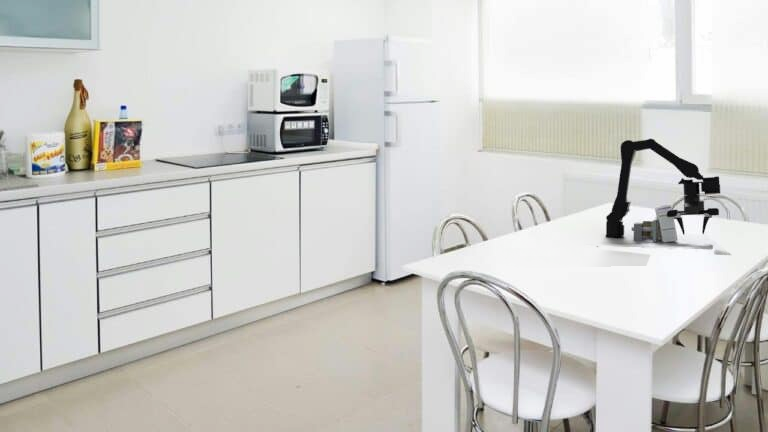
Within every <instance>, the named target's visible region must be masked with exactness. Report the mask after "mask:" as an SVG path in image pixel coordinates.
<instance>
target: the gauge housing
mask: <svg viewBox="0 0 768 432" xmlns="http://www.w3.org/2000/svg"><path fill="white" fill-rule="evenodd" d="M633 227H634V231H633V242H643V240H644V237H650V238H653V231H642V227H649V228H653V220H643V221H642V222H634V223H633ZM658 238H660V233H659V227H658V224H657V239H658ZM660 239H661V238H660Z"/></svg>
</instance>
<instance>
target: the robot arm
mask: <svg viewBox="0 0 768 432" xmlns="http://www.w3.org/2000/svg"><path fill="white" fill-rule="evenodd" d="M645 150H651V151H653V152H654V153H655V154H657V155H659V156H660V157H662V159H664V160H666V161H667V162H669V163H670V164H672V165H673V166H674V167H675V168H676V169H677V170H678V171H679V172H681V174H682V175H683V176H684V177H686V178H689V179H685V178H681V180H680V181H678V183H677V184H678V185H683V210H678V209H672V210H670V211H668V212H667V217H674V220H676V221H677V223H678V224H679V228H680V229H681V232H682V235H685V227H684V222H683V216H694V215H696V216H698V215H703V223H702V235H704V234H705V230H706V228H707V224H708V222H709V220H710V218H713V216H719V215H720V209H719V208H718V207H710V208H709V207H707V209H705V201H704V200H701V196H700V195H701V193H704V195H718V194H719V195H720V194H721V184H720V176H717V175H716V176H712V177H704V175H702V174H701V173H700V172H699V171H700V170H699V167H698V165H697V164H694V163H693V162H690V161H688V160H686V159H683V158H681V157H679V155H677V154H675V153H673V152H672V151H671V150H669V149H668V148H666V147H664V146H663V145H662V144H660V143H658V142H657V141H656V140H655V139H653V138H648V139H643V140H642V139H641V140H635V141H633V140H630V139H627V140H624V141H623V142H622V143H620V157H621V159H620V160H621V165H620V173H619V178H618V186H617V192H616V197H615V200H614V201H613V204H612V207H611V212H610V213H608V215H606V217H605V218H606V225H605V227H606V228H605V229H606V230H605V231H606V232H605V237H623V236H624V235H625V224H624V221H623V219H624V217H626V216H627V215H628V214H629V212H631V209H630V207H631V204H632V201H628V191H629V184H630V176H631V172H632V171H631V169H632V164H633V161H634V159H635V156H636V153H637V152H639V151H645ZM694 179H695V180H698V181H694ZM700 189H701V191H700ZM700 192H701V193H700Z"/></svg>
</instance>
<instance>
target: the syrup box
mask: <svg viewBox="0 0 768 432" xmlns="http://www.w3.org/2000/svg"><path fill="white" fill-rule="evenodd" d="M654 210H655V217H657V222H658V227H659V233H660V241H661V242H662V243H671V242H676V241H679V240H678V234H677V229H676V222H675V219H674V217H667V212H668V211H670V210H673V208H672V205H671V204H664V205H659V206H655V207H654Z"/></svg>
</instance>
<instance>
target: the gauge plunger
mask: <svg viewBox="0 0 768 432" xmlns="http://www.w3.org/2000/svg"><path fill="white" fill-rule="evenodd" d="M652 221H653V228H649V227H642V231H653V237H652V242H654V243H655V242H657V241H658V237H657V224H658V222H657V217H656V216H655V218H654V219H653V220H652ZM631 232H634V226H632V227H631Z"/></svg>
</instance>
